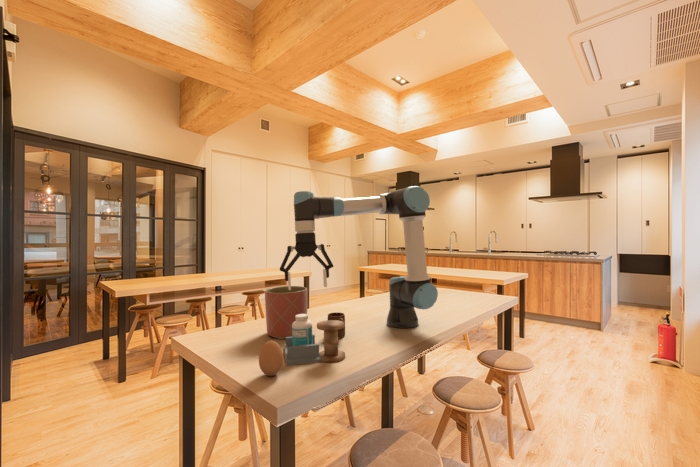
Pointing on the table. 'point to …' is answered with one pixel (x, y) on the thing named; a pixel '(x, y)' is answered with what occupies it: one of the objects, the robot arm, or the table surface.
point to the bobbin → (331, 341)
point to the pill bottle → (302, 330)
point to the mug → (340, 318)
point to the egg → (271, 358)
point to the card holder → (301, 353)
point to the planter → (284, 309)
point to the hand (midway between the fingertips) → (307, 288)
